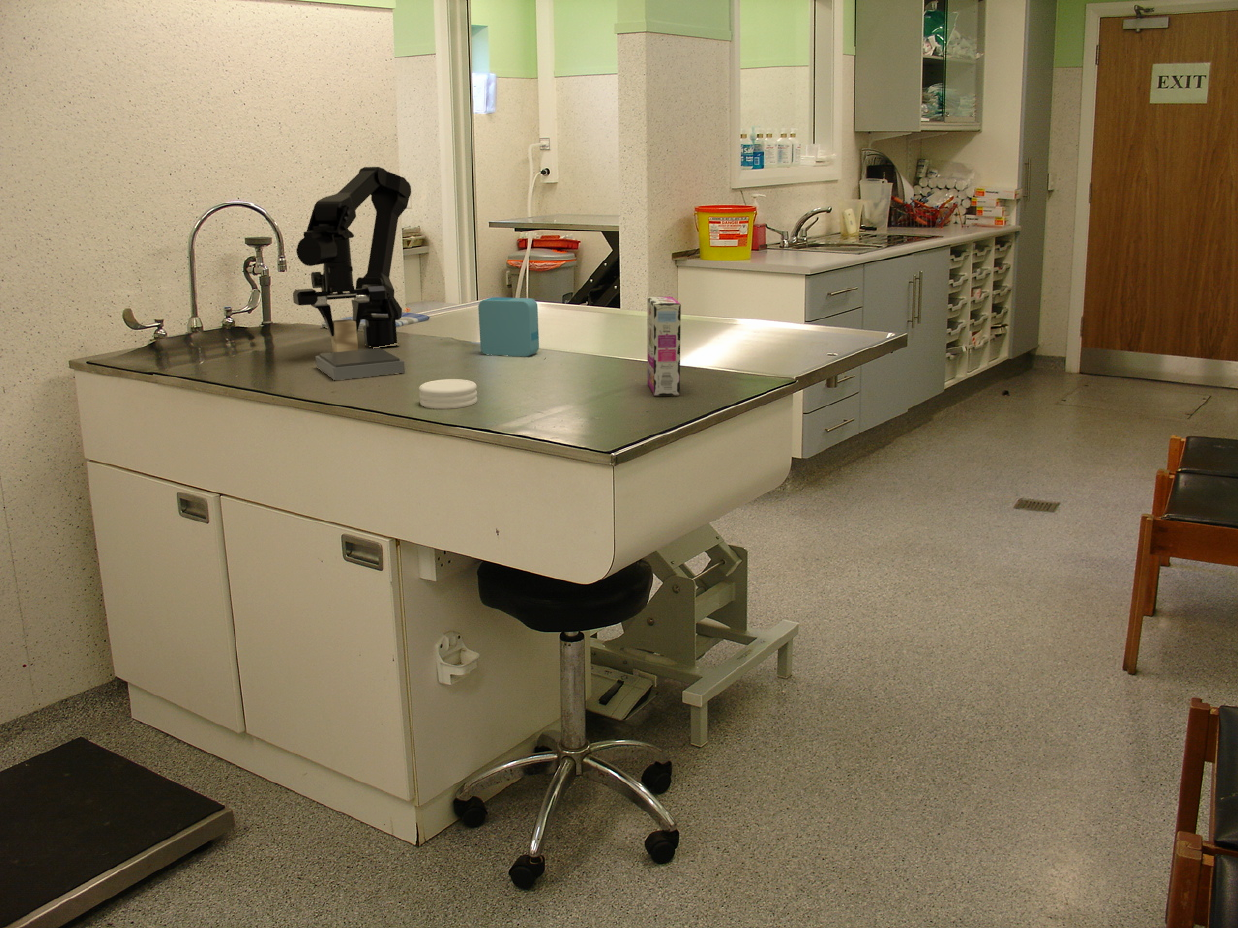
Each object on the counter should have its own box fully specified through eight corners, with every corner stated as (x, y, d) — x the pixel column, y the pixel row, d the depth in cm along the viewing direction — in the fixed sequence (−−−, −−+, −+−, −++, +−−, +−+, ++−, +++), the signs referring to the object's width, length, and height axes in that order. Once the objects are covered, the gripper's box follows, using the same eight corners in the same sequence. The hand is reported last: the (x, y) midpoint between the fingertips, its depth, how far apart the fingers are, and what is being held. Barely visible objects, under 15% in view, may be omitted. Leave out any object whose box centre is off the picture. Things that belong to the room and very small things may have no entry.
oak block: (353, 355, 236) (350, 319, 234) (358, 358, 233) (355, 321, 230) (333, 357, 234) (329, 320, 232) (337, 360, 231) (334, 323, 228)
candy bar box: (682, 396, 191) (681, 303, 186) (653, 397, 191) (652, 304, 186) (673, 383, 202) (673, 295, 197) (646, 384, 201) (645, 296, 197)
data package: (539, 353, 235) (537, 298, 231) (531, 357, 231) (529, 301, 227) (489, 351, 239) (486, 297, 235) (480, 355, 234) (477, 299, 231)
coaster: (435, 396, 195) (434, 377, 194) (486, 399, 193) (485, 379, 192) (409, 408, 186) (408, 388, 185) (462, 411, 183) (461, 391, 182)
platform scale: (383, 361, 229) (382, 347, 228) (405, 373, 216) (403, 358, 215) (316, 368, 223) (315, 353, 222) (334, 381, 209) (333, 365, 209)
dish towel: (318, 330, 276) (317, 319, 275) (382, 318, 295) (381, 308, 295) (369, 335, 267) (368, 324, 267) (431, 322, 287) (430, 311, 286)
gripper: (371, 256, 239) (376, 326, 243) (284, 261, 231) (291, 334, 235) (384, 259, 229) (390, 333, 234) (295, 265, 221) (302, 341, 225)
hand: (343, 335), depth 232 cm, fingers closed on oak block, 4 cm apart
